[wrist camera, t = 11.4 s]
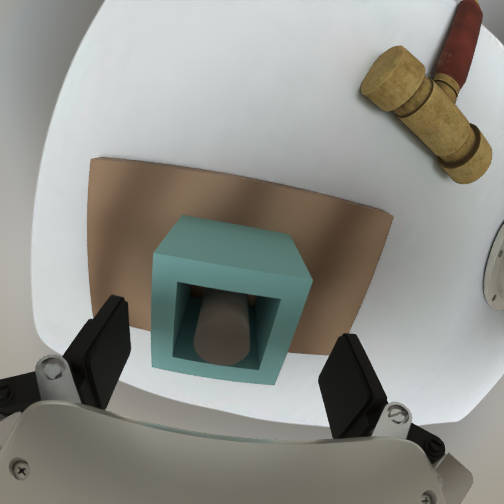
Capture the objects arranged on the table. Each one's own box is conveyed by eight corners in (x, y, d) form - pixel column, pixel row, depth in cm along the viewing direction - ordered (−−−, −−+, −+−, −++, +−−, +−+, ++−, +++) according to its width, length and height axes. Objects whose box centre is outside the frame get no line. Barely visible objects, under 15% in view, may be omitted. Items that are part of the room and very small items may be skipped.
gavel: (448, -45, 6) (517, 31, 8) (425, -29, 10) (490, 37, 12) (384, 83, 11) (481, 190, 13) (350, 98, 15) (442, 181, 18)
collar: (289, 234, 17) (312, 280, 11) (265, 321, 19) (274, 385, 14) (182, 214, 16) (153, 252, 11) (173, 306, 19) (151, 366, 13)
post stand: (383, 210, 18) (459, 256, 10) (332, 344, 22) (363, 421, 14) (101, 157, 16) (17, 175, 8) (100, 306, 20) (53, 376, 12)
